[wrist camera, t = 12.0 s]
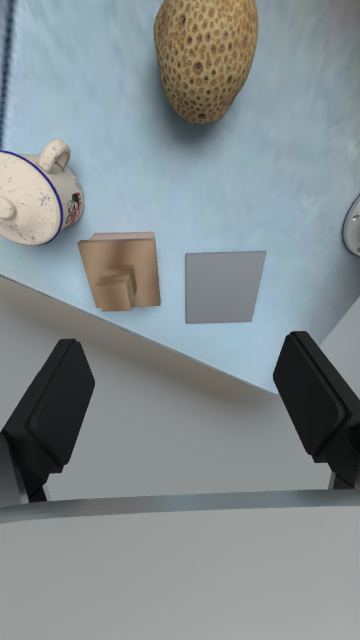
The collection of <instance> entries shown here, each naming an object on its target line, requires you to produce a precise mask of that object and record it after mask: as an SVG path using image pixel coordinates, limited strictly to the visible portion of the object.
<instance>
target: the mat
mask: <svg viewBox="0 0 360 640" xmlns="http://www.w3.org/2000/svg"><path fill="white" fill-rule="evenodd" d="M265 256H266V252H265V251H250V252H215V253H186V324H193V323H223V322H252V317H253V312H254V308H255V303H256V298H257V294H258V289H259V284H260V280H261V275H262V270H263V265H264V261H265Z"/></svg>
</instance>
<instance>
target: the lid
mask: <svg viewBox="0 0 360 640" xmlns="http://www.w3.org/2000/svg"><path fill="white" fill-rule="evenodd" d="M77 244H78V247H79V251H80V254H81V257H82V261H83V264H84V268H85V271H86V274H87V278H88V281H89V285H90V288H91V291H92V295H93V298H94V301H95V305H96V308H101V309H102V312H105V311H131V308H132V307H135V306H160V302H161V301H160V290H159V278H158V267H157V256H156V245H155V238H141V239H110V240H80V241H79V242H78V243H77Z"/></svg>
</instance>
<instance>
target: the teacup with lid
mask: <svg viewBox="0 0 360 640" xmlns="http://www.w3.org/2000/svg"><path fill="white" fill-rule="evenodd" d="M70 156H71V150H70V148H69V146H68V145H67V144H66V143H65V142H64V141H63V140H61V139H54V140H52V141H51V142H50V143H49V144H48V145H47V146H46V147H45V149H44V150H43V152H42V154H41V155H32V154H15V153H12V152H8V151H1V150H0V235H2V236H3V237H5V238H7V239H9V240H11V241H13V242H16V243H19V244H22V245H29V246H38V245H43V244H46V243H49V242H50V241H52V240H53V239H55V237H56V236H57V235H58V234H59V233H60V232H61V231H63V230H64V229H66V228H67V227H69V226H71V225H72V224H74V223H75V222H76V221H77V220H78V219H79V218H80V216H81V214H82V212H83V207H84V197H83V192H82V189H81V186H80V184H79V182H78V180H77V178H76V177H75V175H74V174H73V173H72V172H71V170H70V169H69V168H68V167H67V165H68V163H69V160H70Z"/></svg>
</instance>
